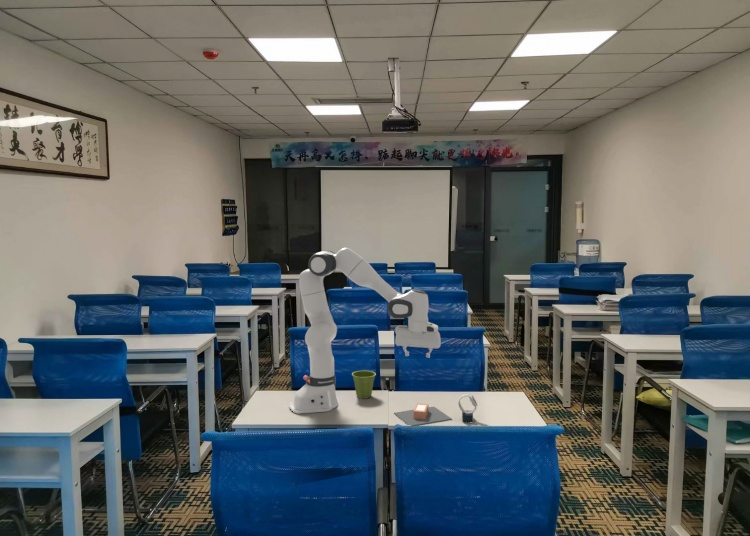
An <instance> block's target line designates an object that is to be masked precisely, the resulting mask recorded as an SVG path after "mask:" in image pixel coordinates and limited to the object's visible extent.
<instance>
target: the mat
mask: <svg viewBox="0 0 750 536" xmlns="http://www.w3.org/2000/svg"><path fill="white" fill-rule="evenodd" d="M393 415H395V416H396V417H397V418H399V419H400V420H401V421H402V420H403V421H404V422H405V423H404V424H406V423H407V424H408V425H417V426H420V425H421V426H422V425H428V424H432V423H440V422H445V421H452V418H451V417H450V415H447V414H446V413H444V412H443V411H441V410H440V409H438V408H437V407H436V406H430V407H429V406H428V414H427V416H426V419H415V418H414V409H411V410H410V409H409V410H403V411H397V412H396V411H395V412H393ZM403 421H402V422H403ZM407 424H406V425H407ZM408 425H407V426H408Z"/></svg>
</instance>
